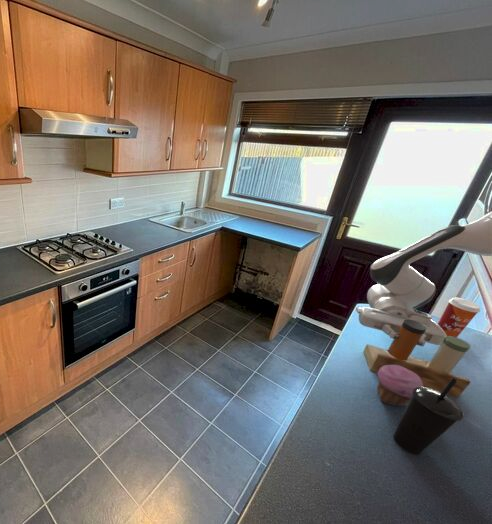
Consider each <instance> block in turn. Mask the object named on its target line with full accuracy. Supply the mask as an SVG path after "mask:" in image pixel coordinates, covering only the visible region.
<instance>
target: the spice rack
mask: <svg viewBox="0 0 492 524" xmlns="http://www.w3.org/2000/svg"><path fill="white" fill-rule="evenodd" d="M362 352H363V355H364V357H365V361H366V364H367V366H368V369H369V370H370V371H371V372H375V373H377V374H378V371H379V369H380V368H381V367H382V366H385V365H399V366H402V367H404V368H406V369H408V370H410V371H412V372H414V373H415V374H417V375H418V376H419V377H420V379H421V380H422V383H423V386H424V387H426V388H430V389H433V390H435V391H437V392H440V393H442V392H443V390H444V389H445V388H446V386H447V385H448V384H449V382H450V381H451V380H452V378H453V379H456V380H457V382H456V383H455V384H454V386H453V387H452V388H451V389H450V391H449V392H448V393H447V395H448V396H451V397H454V398H457V399H458V398H459V397H460V396H462V394H463V392H464V391H465V390H466V389H467V387H468V386H469V385H470V384H471V380H470V379H468V378H465V377H462V376H460V375H459V376H458V375H456V374H455V375H454V373H453V371H452V372H451V373H450V374H448V373H445V372H441V371H438V370H435V369H431V368H428V367H426V366H427V364H428V363H429V361H427V360H424V359H420V358H416V357H413V356H411V355H410V356H409V357H408V359H407V360H400V359H397V358H395V357H393V356H392V355H390V354H389V353H388V349H385V348H382V347H378V346H374V345H371V344H366V345H365V347H364V348H363V351H362Z"/></svg>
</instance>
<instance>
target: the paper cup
mask: <svg viewBox="0 0 492 524" xmlns="http://www.w3.org/2000/svg"><path fill="white" fill-rule="evenodd" d="M480 312H481V306H480V305H479V304H478V303H476V302H474V301H472V300H469V299H466V298H463V297H455V296H454V297H451V298H450V299H448V303H447V305H446V307H445V309H444V311H443V313H442V315H441V317H440V319H439V320H438V322H437V324H438V325H439V326H440V327H441V328H442V329H443V331H444V332H445V333H446V335H447V336H453V337H456V338H459V335H460V334H461V333H462V332H463V331H464V330H465V328H467V326H468V325H469V323H471V321H472V320H473V319H474V318H475V316H476V315H477V314H478V313H480Z"/></svg>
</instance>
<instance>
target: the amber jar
mask: <svg viewBox="0 0 492 524" xmlns="http://www.w3.org/2000/svg"><path fill="white" fill-rule="evenodd" d="M425 331H426V327H425V326H424V325H422V324H421V323H419V322H416V321H413V320H404V322H403V323H402V326H401V328H400V330H399V331H398V334H399V337H398V339H397V340H396V339H392V342H391V344H390V345H389V347H388V349H387V350H388V353H389V354H390V355H392V356H393V357H395V358H397V359H400V360H407V359H408V357H409V356H410V357H411V354H412V353H413V351H414V350H415V348H416V347H417V345H416V344H417V343H418V341H419V340H420V338H421V336H422V335H423V334H424V333H425Z"/></svg>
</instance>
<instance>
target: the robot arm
mask: <svg viewBox="0 0 492 524" xmlns="http://www.w3.org/2000/svg"><path fill="white" fill-rule="evenodd" d="M443 249H445V250H446V249H453V250H458V251H462V252H464V253H465V252H466V253H469V254H472V255H477V256H483V257H492V211H490V212H488V213H487V214H485V215H484V216H481V218H479V219H477V220H475V221H473V222H470V223H467V224H463V225H459V224H458V225H457V224H452V225H448V226H446V227H444V228H443V227H442V228H441V229H439V230H437V231H434V232H432V233H430V234H428V235H426V236H424V237H423V238H421V239H418V240H416V241H414V242H413V243H411V244H410V245H407V246H405V247H403V248H401V249H399V250H397V251H395V252H392V253H390V254H387V255H385V256H383V257H380V258H379V259H377V260H375V261H374V262H373V263H372V264H371V265H370V268H369V276H370V279H371V280H373V281H374V282H376V283H377V284H374V285H372V286H371V287H370V288H369V289H368V290H367V294H366V299H367V304H368V305H369V306H360V307H359V306H357V307H355V311H356V313H357V314H358V322H359V324H360V325H362V326H363V327H366V328H371V329H374V330H378V331H381V332H383V333H385V334H386V335H388V336H389V338H390V339H392V340H394V339H396V340H397V339H398V337H399V334H398V331H399V330H400V328H401V326H402V323H403V322H404V320H413V321H416V322H419V323H421V324H422V325H424V326H425V327H426V331H425V333H424V334H423V335H422V336H421V338H420V340H419V341H418V343H417V344H416V346H419V347H424V346H425V345H426V343H427V344H432V345H436V346H440V345H441V344H442V342H443V340H444V338H445V337H446V336H447V335H446V333H445V332H444V331H443V329H442V328H441V327H440V326H439V325H438V322H436V321H435V320H432V319H433V317H432V315H430V314H429V313H426V312H424V311H421V310H418V309H419V308H421V307H423V306H425V305H427V304H428V303H430V302H431V301H432V300H433V298H434V296H435V295H436V291H437V288H436V285H435V283H433V282H431V280H429V279H428V278H427V277H425V275H423V274H421V273H420V272H418V271H417V270H416V269H415V268H414V267H413V266H410V265H411V264H412V263H414V262H416V261H418V260H420V259H422V258H424V257H426V256H428V255H430V254H432V253H435V252H437V251H440V250H443Z"/></svg>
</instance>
